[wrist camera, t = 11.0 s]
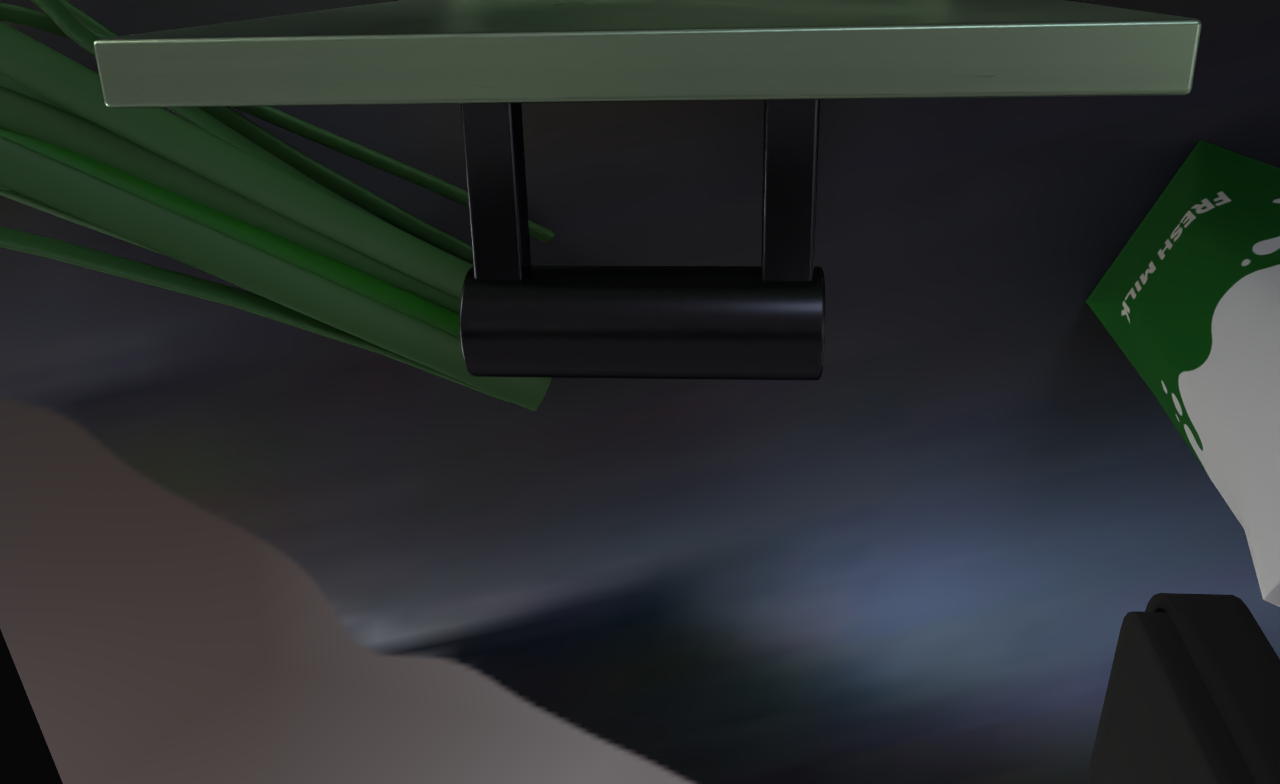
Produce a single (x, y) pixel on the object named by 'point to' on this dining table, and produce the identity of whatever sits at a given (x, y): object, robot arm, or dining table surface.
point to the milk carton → (1212, 329)
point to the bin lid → (644, 72)
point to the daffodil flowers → (232, 208)
